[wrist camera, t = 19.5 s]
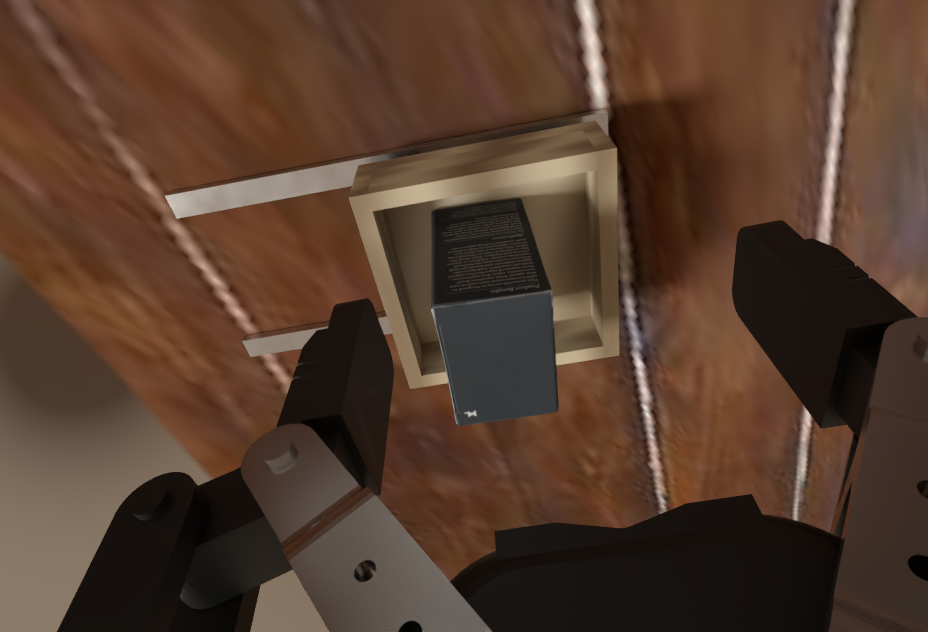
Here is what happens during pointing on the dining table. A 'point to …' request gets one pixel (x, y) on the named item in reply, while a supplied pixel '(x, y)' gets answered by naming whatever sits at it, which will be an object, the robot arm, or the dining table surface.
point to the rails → (322, 180)
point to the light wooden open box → (488, 180)
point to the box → (493, 312)
